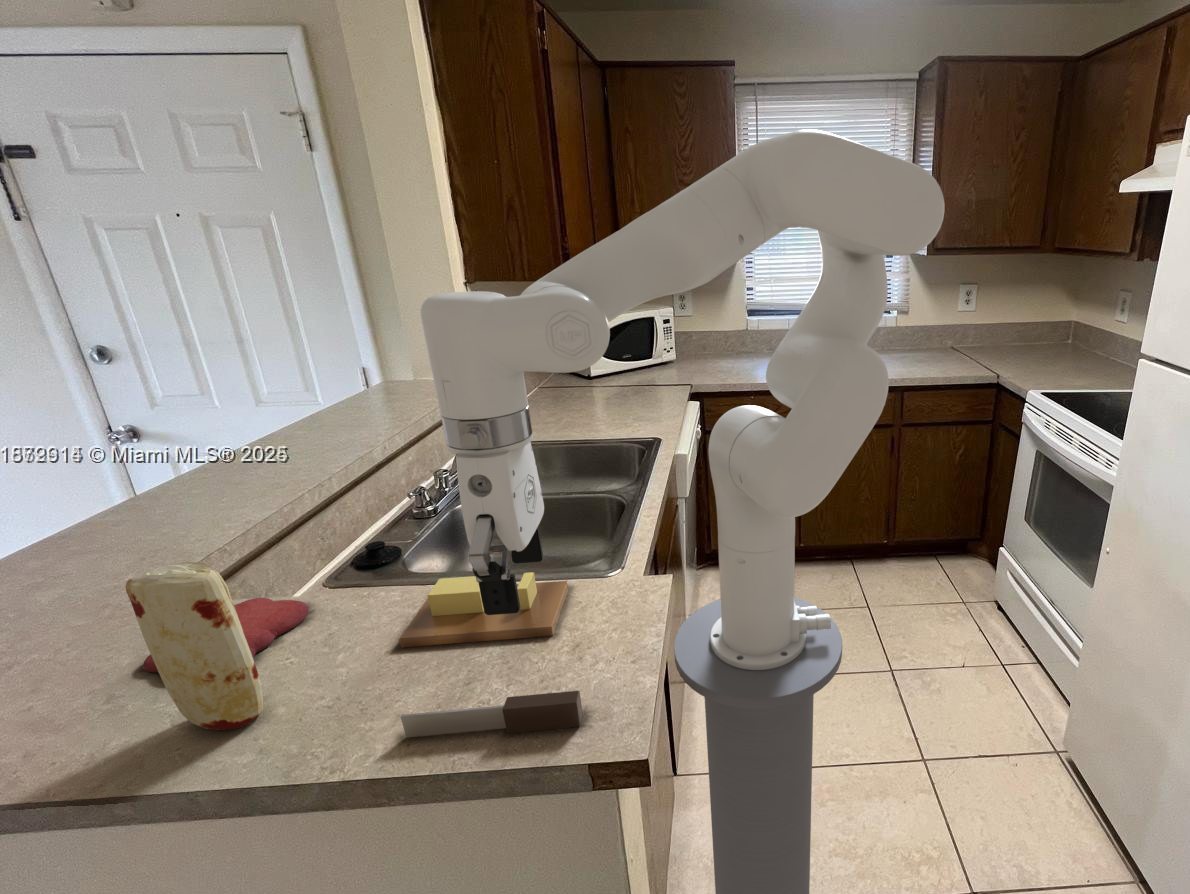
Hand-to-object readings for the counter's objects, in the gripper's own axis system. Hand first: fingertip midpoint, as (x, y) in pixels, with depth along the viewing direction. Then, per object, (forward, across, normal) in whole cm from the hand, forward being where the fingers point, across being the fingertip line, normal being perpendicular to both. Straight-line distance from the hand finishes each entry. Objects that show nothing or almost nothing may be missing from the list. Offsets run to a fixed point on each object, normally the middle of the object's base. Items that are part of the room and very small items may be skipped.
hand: (516, 585), depth 63 cm
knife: (+18, 0, +5) cm, 19 cm away
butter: (+17, +24, +16) cm, 33 cm away
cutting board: (+18, +22, +12) cm, 31 cm away
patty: (+18, +22, +46) cm, 54 cm away
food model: (+18, +6, +36) cm, 41 cm away
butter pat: (+17, +24, +7) cm, 30 cm away
